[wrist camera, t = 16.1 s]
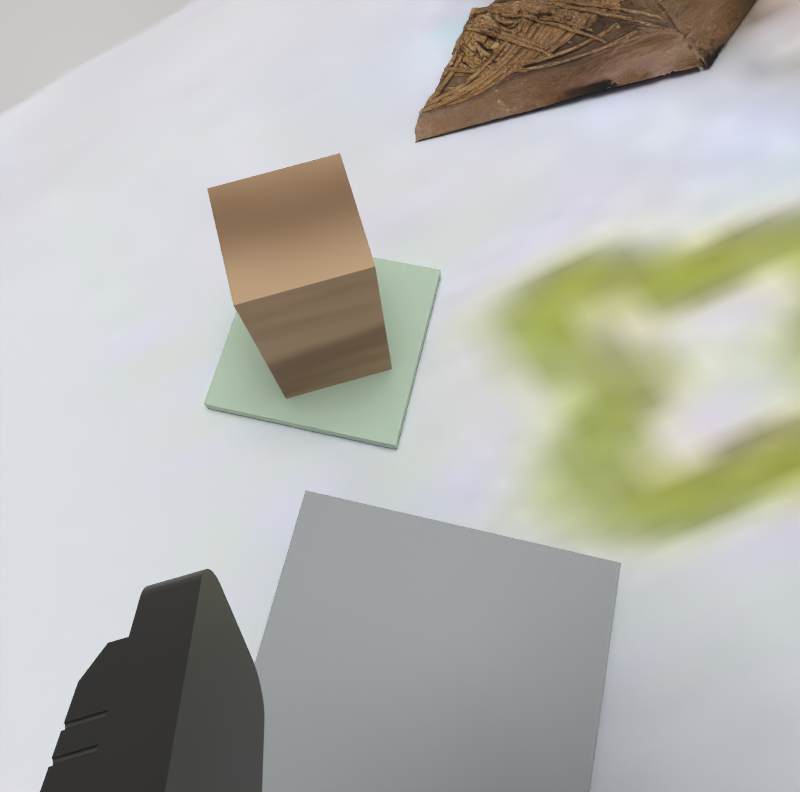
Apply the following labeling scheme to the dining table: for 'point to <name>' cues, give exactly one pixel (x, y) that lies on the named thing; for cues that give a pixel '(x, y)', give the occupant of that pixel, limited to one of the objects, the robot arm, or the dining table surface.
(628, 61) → the wooden fragment
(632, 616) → the dining table surface
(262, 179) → the walnut block
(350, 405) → the mat
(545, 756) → the gray square slab
